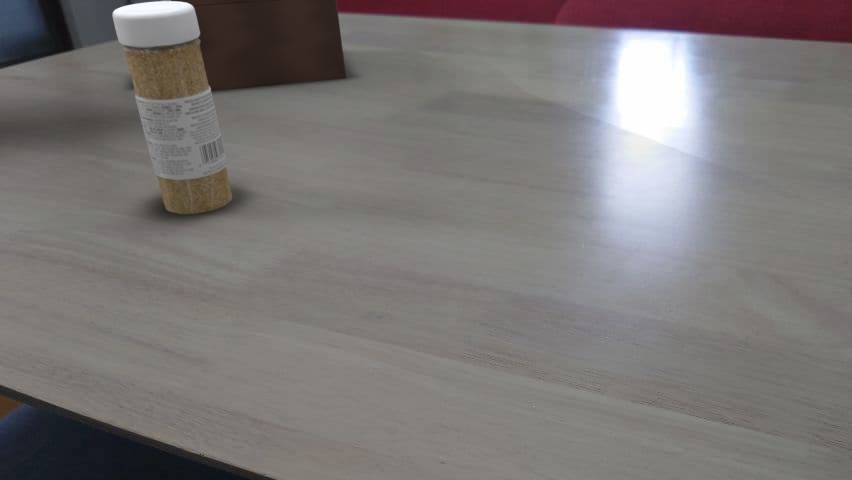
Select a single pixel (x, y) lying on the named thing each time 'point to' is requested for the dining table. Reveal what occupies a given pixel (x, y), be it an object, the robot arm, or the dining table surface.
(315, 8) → the cabinet
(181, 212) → the seasoning bottle
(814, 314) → the dining table surface
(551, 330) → the dining table surface
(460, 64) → the dining table surface
